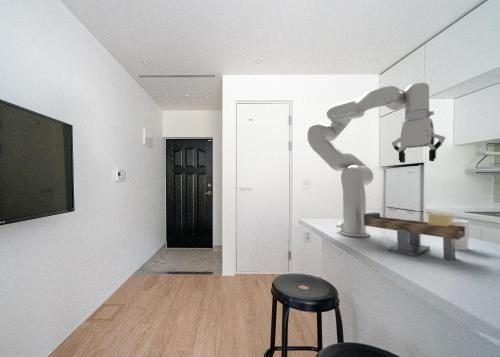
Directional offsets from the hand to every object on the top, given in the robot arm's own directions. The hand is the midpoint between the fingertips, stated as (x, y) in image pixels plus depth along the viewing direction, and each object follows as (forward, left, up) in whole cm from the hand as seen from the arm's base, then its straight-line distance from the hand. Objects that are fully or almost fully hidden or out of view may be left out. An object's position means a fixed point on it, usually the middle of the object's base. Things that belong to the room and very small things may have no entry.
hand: (416, 161), depth 90 cm
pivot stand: (+1, -10, -32) cm, 33 cm away
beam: (+1, -10, -25) cm, 27 cm away
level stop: (+12, -10, -32) cm, 35 cm away
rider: (+10, -10, -23) cm, 27 cm away
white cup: (+10, +7, -32) cm, 34 cm away
